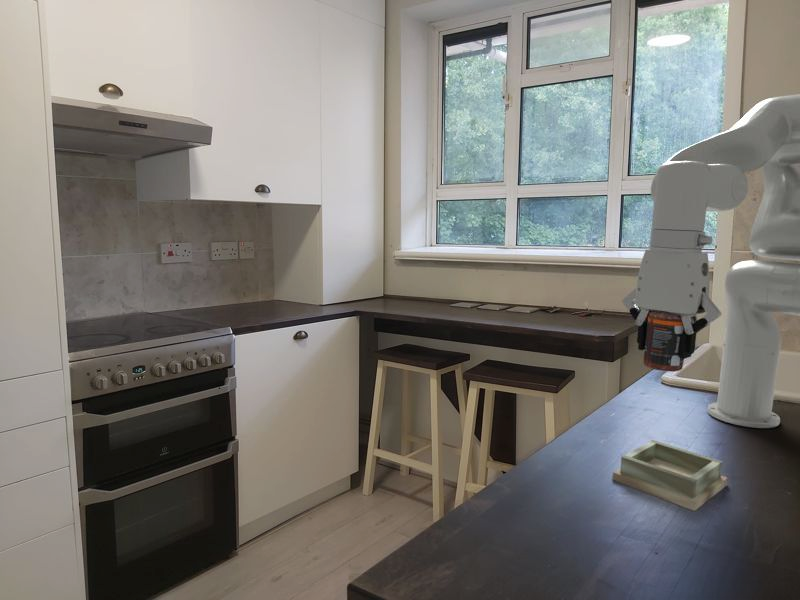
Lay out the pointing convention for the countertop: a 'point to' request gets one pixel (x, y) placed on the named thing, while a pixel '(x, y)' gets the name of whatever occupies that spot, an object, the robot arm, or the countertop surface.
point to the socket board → (672, 474)
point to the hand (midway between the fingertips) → (664, 352)
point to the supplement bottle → (663, 341)
